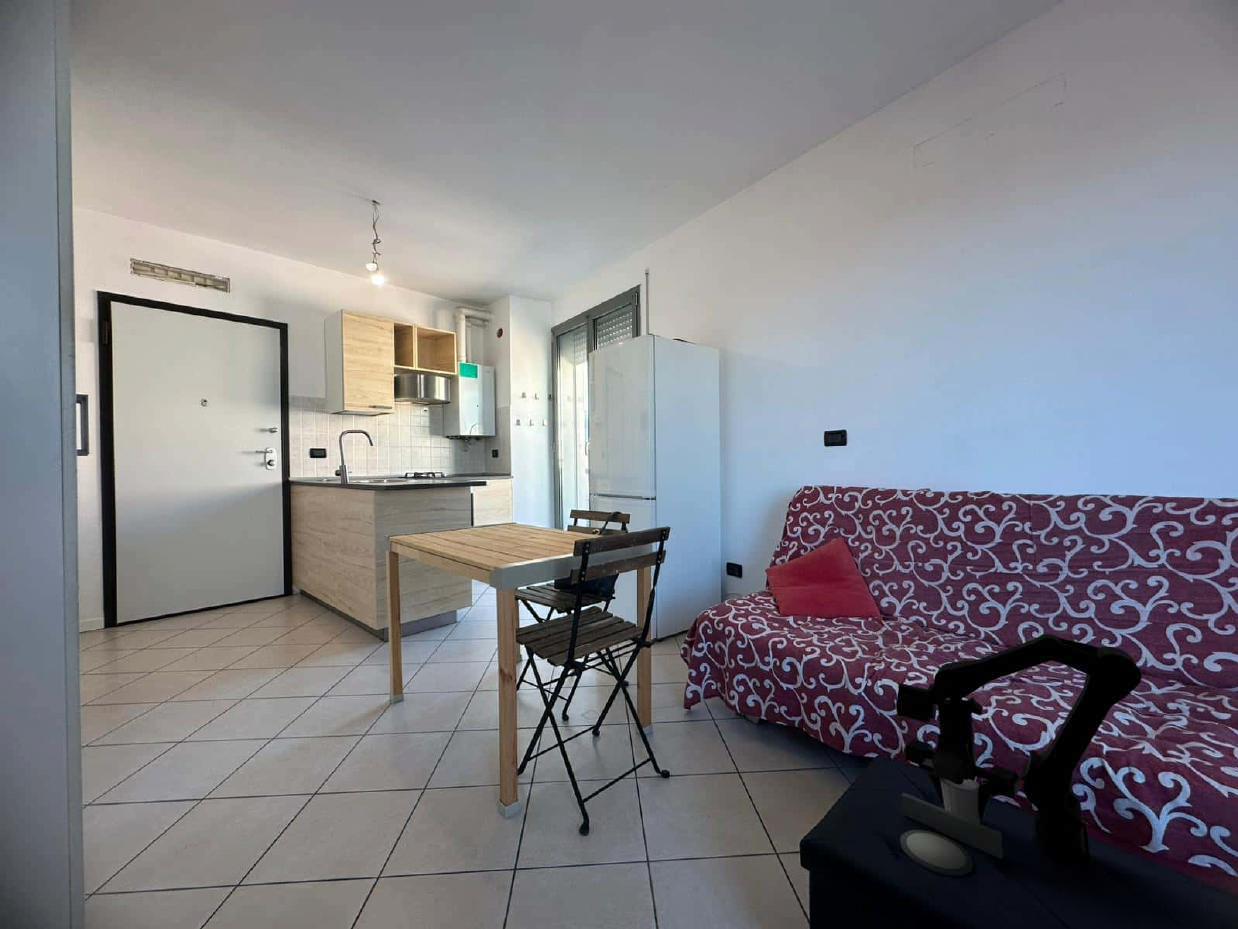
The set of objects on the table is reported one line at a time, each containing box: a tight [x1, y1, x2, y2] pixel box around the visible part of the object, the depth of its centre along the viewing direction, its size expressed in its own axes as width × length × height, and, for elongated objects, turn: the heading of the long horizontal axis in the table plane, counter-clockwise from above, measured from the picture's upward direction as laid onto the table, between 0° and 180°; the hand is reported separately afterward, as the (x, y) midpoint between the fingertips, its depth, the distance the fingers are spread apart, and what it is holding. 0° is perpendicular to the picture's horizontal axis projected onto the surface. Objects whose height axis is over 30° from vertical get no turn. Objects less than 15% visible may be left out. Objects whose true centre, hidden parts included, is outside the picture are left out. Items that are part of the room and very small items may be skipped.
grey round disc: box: [899, 829, 974, 877], centre depth 86 cm, size 11×11×1 cm
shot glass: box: [940, 778, 981, 824], centre depth 96 cm, size 7×7×7 cm
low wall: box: [901, 792, 1004, 860], centre depth 91 cm, size 16×1×4 cm, turn 40°
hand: (962, 810), depth 96 cm, fingers closed on shot glass, 6 cm apart
